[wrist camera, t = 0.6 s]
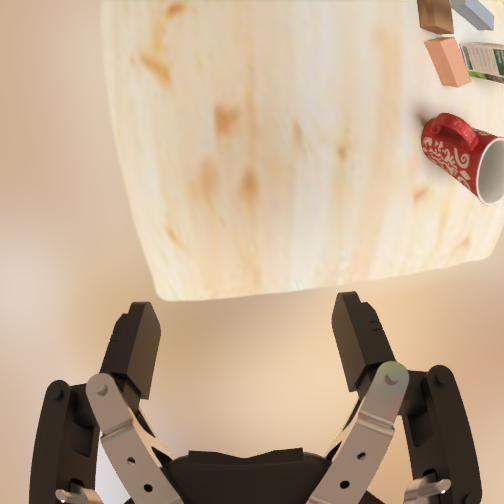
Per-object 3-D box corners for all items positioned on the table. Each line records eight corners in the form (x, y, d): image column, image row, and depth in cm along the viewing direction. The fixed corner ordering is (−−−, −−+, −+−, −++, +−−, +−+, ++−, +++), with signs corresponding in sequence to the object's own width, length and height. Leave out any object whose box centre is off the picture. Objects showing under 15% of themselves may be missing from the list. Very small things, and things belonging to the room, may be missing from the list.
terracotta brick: (423, 42, 23) (439, 41, 19) (437, 37, 22) (454, 37, 18) (441, 84, 26) (457, 87, 23) (454, 78, 25) (471, 81, 22)
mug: (464, 139, 31) (522, 171, 20) (437, 177, 35) (489, 218, 24) (423, 83, 26) (490, 98, 16) (391, 125, 31) (452, 154, 20)
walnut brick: (414, -11, 17) (429, -15, 14) (432, -3, 17) (448, -6, 14) (419, 27, 21) (435, 25, 18) (437, 34, 21) (453, 33, 18)
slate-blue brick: (449, 6, 17) (465, 4, 14) (450, -8, 15) (465, -10, 12) (477, 29, 18) (493, 30, 15) (478, 15, 16) (493, 15, 13)
